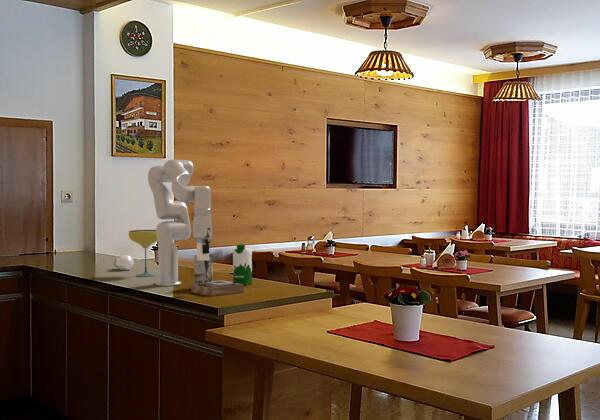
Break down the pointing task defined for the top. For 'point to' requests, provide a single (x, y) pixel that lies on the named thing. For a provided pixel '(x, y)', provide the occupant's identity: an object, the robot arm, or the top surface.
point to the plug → (201, 250)
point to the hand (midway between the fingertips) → (203, 252)
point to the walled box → (217, 289)
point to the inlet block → (218, 284)
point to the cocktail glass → (144, 243)
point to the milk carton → (242, 265)
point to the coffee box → (203, 270)
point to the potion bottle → (124, 262)
